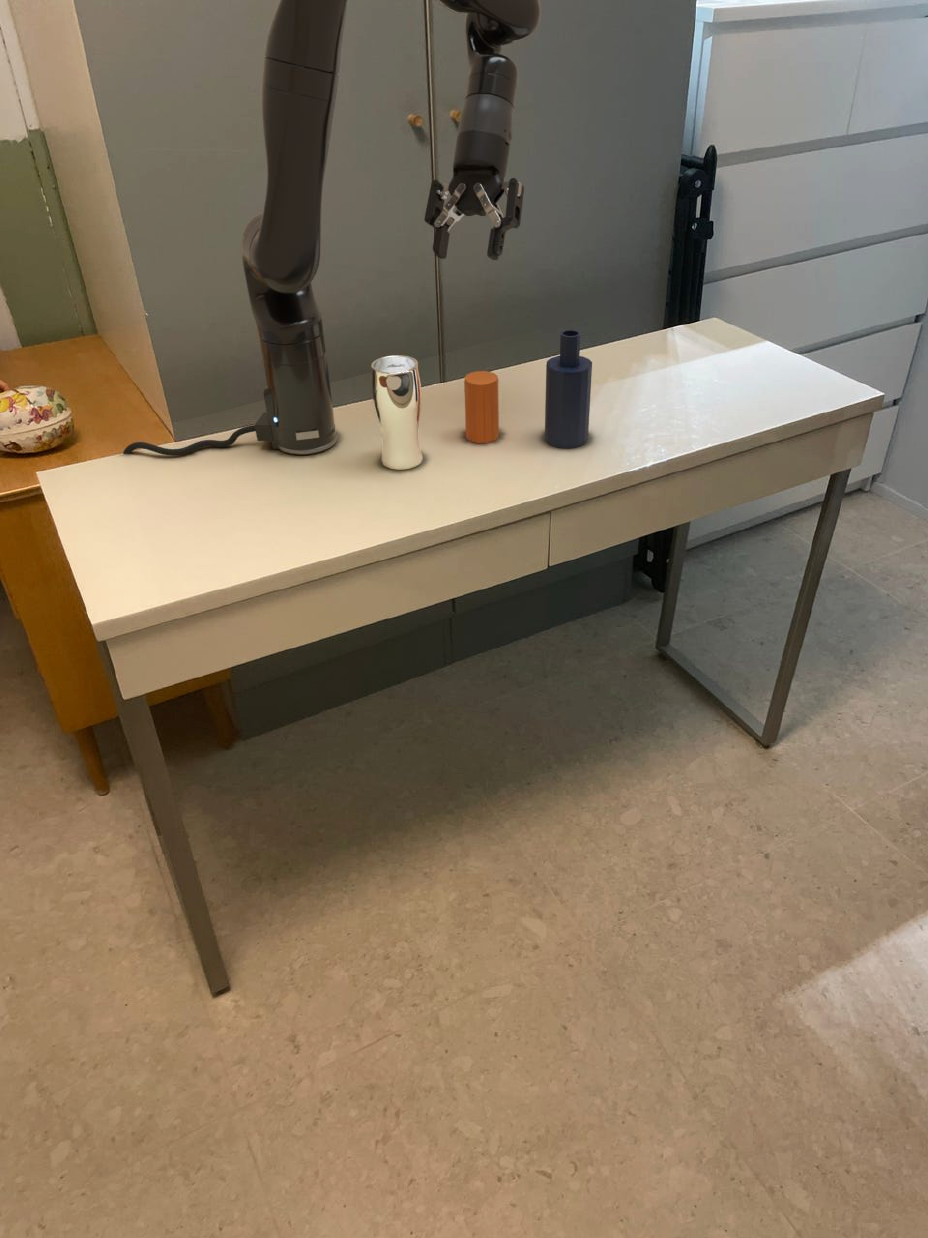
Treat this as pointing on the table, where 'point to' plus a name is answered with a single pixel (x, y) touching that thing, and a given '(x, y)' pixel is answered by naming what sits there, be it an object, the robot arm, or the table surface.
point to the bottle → (568, 394)
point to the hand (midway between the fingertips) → (466, 257)
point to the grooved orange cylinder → (481, 406)
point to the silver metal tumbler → (398, 409)
